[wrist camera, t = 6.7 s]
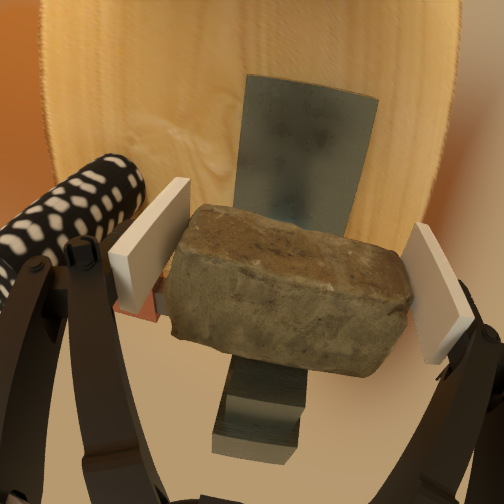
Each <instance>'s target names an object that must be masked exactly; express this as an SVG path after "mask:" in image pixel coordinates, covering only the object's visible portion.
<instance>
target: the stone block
mask: <svg viewBox="0 0 504 504" xmlns="http://www.w3.org/2000/svg"><path fill="white" fill-rule="evenodd" d="M413 298H414V295H413V293H412V288H411V285H410V280H409V276H408V273H407V271H406V268H405V265H404V264H403V262H402V260H401V259H400V257H399V256H398V254H397V253H396V252H395V251H392V250H386V249H384V248H381V247H379V246H376V245H372V244H367V243H363V242H360V241H356V240H352V239H347V238H342V237H339V236H336V235H334V234H331V233H325V232H319V231H312V230H304V229H302V228H300V227H298V226H296V225H295V224H293V223H285V222H280V221H276V220H273V219H270V218H266V217H263V216H261V215H258V214H256V213H253V212H249V211H245V210H242V209H237V208H232V207H227V206H218V205H210V204H203V205H202V206H201V207H199V208H198V209H197V210H196V211H195V213H194V214H193V215H192V217H191V218H190V220H189V221H188V225H187V229H185V231H184V233H183V235H182V237H181V240H180V241H179V243H178V245H177V247H176V250H175V253H174V256H173V260H172V265H171V269H170V273H169V275H168V277H167V280H166V283H165V290H164V299H165V305H166V310H167V314H168V315H169V317H170V319H171V322H172V331H171V335H172V336H174V337H176V338H177V339H179V340H187V341H192V342H195V343H199V344H202V345H206V346H209V347H212V348H214V349H216V350H218V351H220V352H222V353H227V354H233V355H238V356H241V357H245V358H249V359H255V360H261V361H266V362H270V363H275V364H280V365H284V366H290V367H296V368H301V369H307V370H314V371H323V372H328V373H336V374H341V375H347V376H353V377H360V378H365V377H368V376H370V375H371V374H373V373H374V372H375V371H376V370H377V369H378V368H379V367H380V366H381V364H382V363H383V362H384V360H385V359H386V358H387V357H388V355H389V354H390V353H391V352H392V351H393V349H394V346H395V344H396V342H397V340H398V339H399V338H400V336H401V335H402V333H403V331H404V329H405V328H406V327H407V324H408V319H407V313H408V310H409V308H410V306H411V304H412V301H413Z"/></svg>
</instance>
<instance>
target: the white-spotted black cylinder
mask: <svg viewBox="0 0 504 504" xmlns="http://www.w3.org/2000/svg"><path fill="white" fill-rule="evenodd" d="M144 197H145V184H144V180H143V178H142V175H141V173H140V171H139V170H138V168H137V167H136V166H135V165H134V164H133V163H132V162H131V161H130V160H129V159H127V158H126V157H124V156H122V155H118V154H112V153H110V154H105V155H102V156H100V157H98V158H97V159H95V160H94V161H92V162H90V163H89V164H87V165H86V166H84V167H83V168H81V169H80V170H78V171H77V172H75V173H74V174H72V175H71V176H69V177H68V178H67V179H65V180H64V181H62V182H61V183H59V184H58V185H57V186H55V187H54V188H52V189H51V190H50V191H48V192H47V193H46V194H44V195H43V196H42V197H40V198H39V199H38V200H36V201H35V202H34V203H32V204H31V205H30V206H28V207H27V208H26V209H25V210H23V211H22V212H21V213H20V214H19V215H17V216H16V217H15V218H14V219H12V220H11V221H10V222H9V223H7V224H6V225H5V226H4V227H3V228H2V229H1V230H0V311H2V309H3V306H4V304H5V302H6V299H7V297H8V295H9V293H10V290H11V288H12V286H13V284H14V282H15V280H16V278H17V276H18V274H19V272H20V270H21V268H22V266H23V264H24V263H25V262H26V261H27V260H29V259H30V258H32V257H34V256H39V255H44V256H47V257H49V258H50V259H51V261H52V265H53V266H68V265H67V262H66V258H65V255H64V251H63V247H64V245H65V244H66V243H67V242H68V241H69V240H70V239H72V238H74V237H77V236H80V235H90V236H94V237H95V238H97V240H98V243H99V244H100V243H101V242H102V241H103V240H104V239H105V238H107V235H108V234H109V233H110V232H112V230H113V229H114V228H115V227H116V226H117V225H118V224H119V223H121V222H123V221H125V220H126V219H130V218H131V217H132V216H133V214H134V213H135V212H136V211H137V210H138V209H139V208H140V207H141V205H142V203H143V201H144Z"/></svg>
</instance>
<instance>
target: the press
mask: <svg viewBox="0 0 504 504" xmlns="http://www.w3.org/2000/svg"><path fill="white" fill-rule="evenodd" d="M378 101H379V100H378V99H376V98H374V97H370V96H366V95H363V94H359V93H354V92H350V91H346V90H342V89H337V88H333V87H328V86H323V85H318V84H313V83H308V82H302V81H296V80H290V79H284V78H277V77H270V76H262V75H254V74H248V75H247V79H246V88H245V97H244V106H243V115H242V124H241V133H240V143H239V152H238V162H237V172H236V182H235V192H234V203H233V208H237V209H242V210H245V211H249V212H253V213H256V214H258V215H261V216H263V217H266V218H270V219H273V220H276V221H280V222H285V223H293V224H295V225H296V226H298V227H300V228H302V229H304V230H312V231H319V232H325V233H331V234H334V235H336V236H339V237H342V238H343V235H344V232H345V229H346V225H347V222H348V219H349V215H350V212H351V208H352V205H353V201H354V198H355V194H356V191H357V187H358V183H359V180H360V176H361V172H362V168H363V164H364V161H365V157H366V153H367V149H368V145H369V140H370V136H371V132H372V128H373V123H374V119H375V115H376V110H377V105H378ZM307 373H308V370H307V369H301V368H296V367H290V366H284V365H280V364H275V363H270V362H266V361H261V360H255V359H249V358H245V357H241V356H238V355H233V354H232V359H231V362H230V366H229V370H228V374H227V378H226V382H225V386H224V390H223V393H222V398H221V401H220V405H219V409H218V413H217V417H216V421H215V425H214V429H213V433H212V453H216V454H220V455H225V456H230V457H235V458H240V459H246V460H252V461H259V462H265V463H272V464H279V465H284V464H285V463H286V462H287V460H288V459H289V458H290V457H291V455H292V454H293V453H294V452H295V450H296V449H297V447H298V437H299V426H300V416H301V414H302V412H303V411H304V409H305V403H306V388H307Z"/></svg>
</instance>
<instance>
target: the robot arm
mask: <svg viewBox="0 0 504 504" xmlns="http://www.w3.org/2000/svg"><path fill="white" fill-rule="evenodd" d="M189 220H190V178H182V177H175V178H174V179H173V180H172V181H171V182H170V183H169V185H168V186H167V187H166V188H165V189H164V190H163V191H162V192H161V193H160V194H159V195H158V196H157V197H156V198H155V199H154V200H153V201H152V203H151V204H150V205H149V206H148V207H147V208H146V209H145V210H144V211H143V212H142V213H141V215H140V216H139V217H138V218H137V219H136V220H131V219H126V220H125V221H123V222H121V223H119V224H118V225H117V226H116V227H115V228H114V229H113V230H112V232H110V233H109V234H108V235H107V238H105V239H104V240H103V241H102V242H101V243H100V244H99V243H98V240H97V238H95V237H94V236H90V235H80V236H77V237H74V238H72V239H70V240H69V241H68V242H67V243H66V244H65V245H64V247H63V251H64V255H65V258H66V262H67V265H68V266H53V265H52V261H51V259H50V258H49V257H47V256H44V255H39V256H34V257H32V258H30V259H29V260H27V261H26V262H25V263H24V264H23V266H22V268H21V270H20V272H19V274H18V276H17V278H16V280H15V282H14V284H13V286H12V288H11V290H10V293H9V295H8V297H7V299H6V302H5V304H4V306H3V309H2V311H1V314H0V504H41V499H42V493H43V482H44V462H45V447H46V436H47V427H48V418H49V410H50V403H51V396H52V389H53V384H54V378H55V373H56V368H57V362H58V358H59V353H60V348H61V344H62V339H63V335H64V331H65V327H66V322H67V318H68V323H69V343H70V356H71V367H72V377H73V385H74V392H75V400H76V407H77V413H78V419H79V425H80V430H81V436H82V441H83V445H84V451H85V453H84V456H83V458H82V470H83V475H84V479H85V482H86V486H87V490H88V494H89V497H90V500H91V504H243V503H241V502H235V501H229V500H225V499H219V498H215V497H210V496H205V495H200V499H189V500H179V501H174V502H170V501H169V498H168V496H167V493H166V491H165V489H164V487H163V484H162V482H161V480H160V477H159V475H158V473H157V471H156V468H155V465H154V463H153V460H152V457H151V454H150V451H149V448H148V445H147V442H146V439H145V436H144V433H143V430H142V427H141V424H140V420H139V417H138V413H137V410H136V407H135V403H134V399H133V395H132V392H131V388H130V384H129V380H128V376H127V372H126V368H125V363H124V359H123V355H122V350H121V345H120V341H119V335H118V330H117V325H116V320H115V314H114V310H113V305H114V304H115V302H116V301H117V299H118V303H119V307H120V310H123V311H127V312H130V313H134V314H138V312H139V311H140V309H141V307H142V305H143V303H144V302H145V300H146V298H147V296H148V295H149V293H150V291H151V290H152V288H153V286H154V284H155V283H156V281H157V279H158V278H159V276H160V274H161V272H162V271H163V269H164V267H165V266H166V264H167V262H168V261H169V259H170V257H171V256H172V254H173V252H174V251H175V249H176V247H177V245H178V243H179V241H180V240H181V237H182V235H183V233H184V231H185V229H187V225H188V221H189ZM400 259H401V260H402V262H403V264H404V265H405V268H406V271H407V273H408V276H409V280H410V285H411V288H412V293H413V295H414V298H413V301H412V304H411V306H410V307H411V310H412V313H413V317H414V321H415V325H416V328H417V332H418V336H419V340H420V344H421V348H422V352H423V357H424V361H425V364H438V365H440V364H441V363H442V361H443V360H444V359H445V358H446V356H447V355H448V359H449V362H450V363H449V364H448V365H447V366H446V368H445V369H444V370H443V371H442V372H441V373H440V374H439V376H438V377H437V378H436V381H437V380H439V378H441V379H440V381H439V383H438V385H437V388H436V390H435V392H434V394H433V397H432V399H431V401H430V403H429V405H428V407H427V409H426V411H425V413H424V415H423V417H422V419H421V421H420V423H419V425H418V427H417V429H416V431H415V433H414V434H413V436H412V438H411V440H410V442H409V443H408V445H407V447H406V449H405V450H404V452H403V454H402V456H401V457H400V459H399V461H398V462H397V464H396V466H395V467H394V469H393V470H392V472H391V474H390V475H389V476H388V478H387V480H386V481H385V483H384V484H383V486H382V487H381V489H380V490H379V491H378V493H377V494H376V496H375V497H374V498H373V499H372V501H371V502H370V503H368V504H459V502H458V501H457V500H456V499H455V495H456V491H457V489H458V487H459V485H460V483H461V481H462V478H463V476H464V473H465V471H466V469H467V466H468V464H469V461H470V459H471V456H472V453H473V450H474V456H473V462H472V468H471V474H470V480H469V484H468V489H467V494H466V498H465V503H464V504H504V343H501V339H500V337H499V334H498V333H497V332H496V331H495V329H493V328H492V327H491V326H489V325H487V324H484V323H483V321H482V319H481V316H480V314H479V312H478V310H477V307H476V305H475V304H474V301H473V299H472V298H471V295H470V293H469V290H468V288H467V287H466V286H465V285H464V283H463V282H462V281H461V280H458V279H457V278H456V276H455V274H454V272H453V270H452V268H451V266H450V264H449V262H448V260H447V258H446V257H445V254H444V253H443V251H442V249H441V247H440V245H439V243H438V242H437V240H436V238H435V236H434V235H433V233H432V231H431V229H430V228H429V226H428V225H427V224H423V223H419V222H415V224H414V227H413V229H412V232H411V234H410V237H409V239H408V241H407V244H406V246H405V249H404V251H403V253H402V256H401V258H400ZM474 448H475V449H474Z"/></svg>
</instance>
